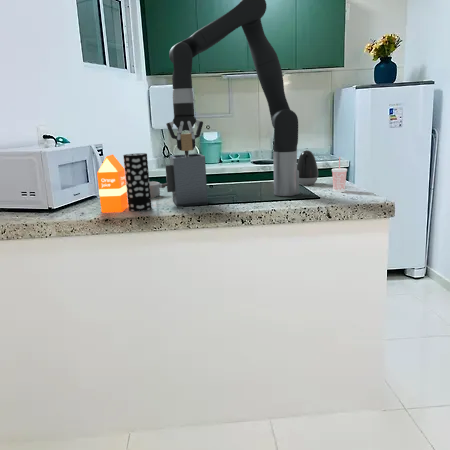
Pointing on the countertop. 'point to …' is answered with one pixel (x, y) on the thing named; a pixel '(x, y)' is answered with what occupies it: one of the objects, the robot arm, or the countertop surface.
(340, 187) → the beverage cup
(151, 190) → the saucepan
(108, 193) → the orange juice
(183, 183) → the tall grey box
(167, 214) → the countertop surface
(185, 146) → the plunger
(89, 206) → the countertop surface
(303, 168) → the dark grey egg shape
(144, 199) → the spotted tube
